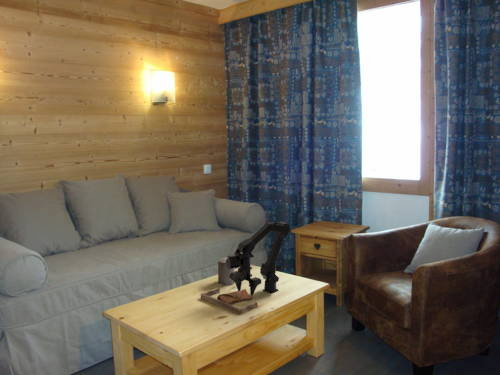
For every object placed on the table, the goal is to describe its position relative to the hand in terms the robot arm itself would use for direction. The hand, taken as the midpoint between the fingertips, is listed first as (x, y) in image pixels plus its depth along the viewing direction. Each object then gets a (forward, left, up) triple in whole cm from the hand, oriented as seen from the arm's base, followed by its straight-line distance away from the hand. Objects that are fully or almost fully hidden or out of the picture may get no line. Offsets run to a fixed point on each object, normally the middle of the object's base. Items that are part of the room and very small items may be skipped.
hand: (245, 293), depth 247 cm
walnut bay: (+12, 0, -1) cm, 12 cm away
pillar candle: (-7, -22, -2) cm, 23 cm away
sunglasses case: (+7, 0, -2) cm, 8 cm away
